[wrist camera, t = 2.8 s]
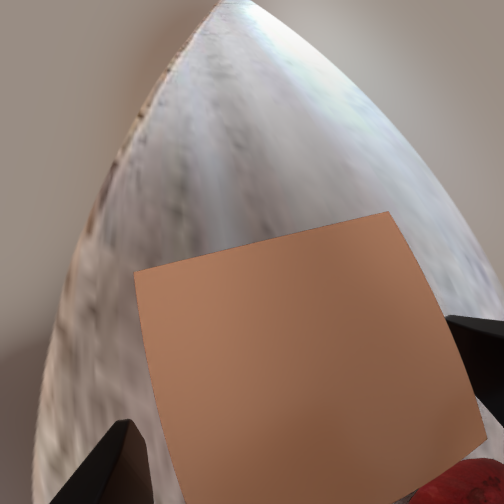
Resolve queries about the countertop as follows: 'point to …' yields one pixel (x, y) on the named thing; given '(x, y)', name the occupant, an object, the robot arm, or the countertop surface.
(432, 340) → the tan rectangular block
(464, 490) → the onion
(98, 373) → the countertop surface
